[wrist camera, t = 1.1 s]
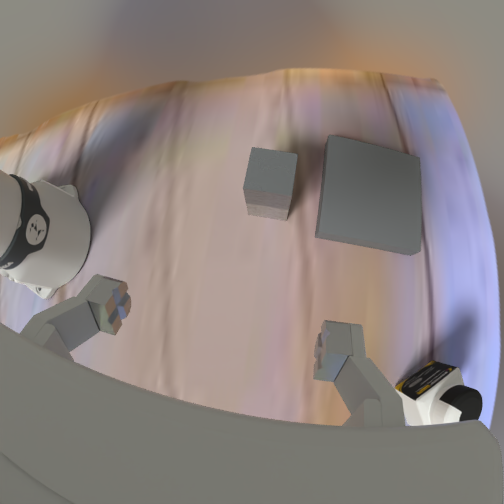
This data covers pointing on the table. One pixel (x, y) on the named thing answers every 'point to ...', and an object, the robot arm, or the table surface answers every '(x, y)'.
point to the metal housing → (269, 183)
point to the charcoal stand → (370, 197)
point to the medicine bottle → (438, 396)
